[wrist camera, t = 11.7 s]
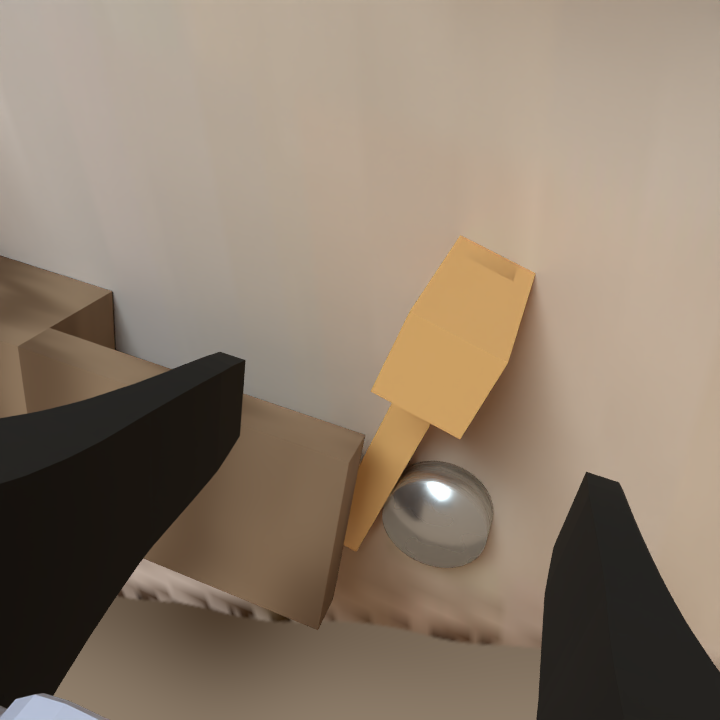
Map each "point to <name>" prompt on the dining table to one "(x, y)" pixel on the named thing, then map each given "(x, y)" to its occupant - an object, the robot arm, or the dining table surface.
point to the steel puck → (438, 514)
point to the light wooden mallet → (440, 366)
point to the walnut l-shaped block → (233, 479)
